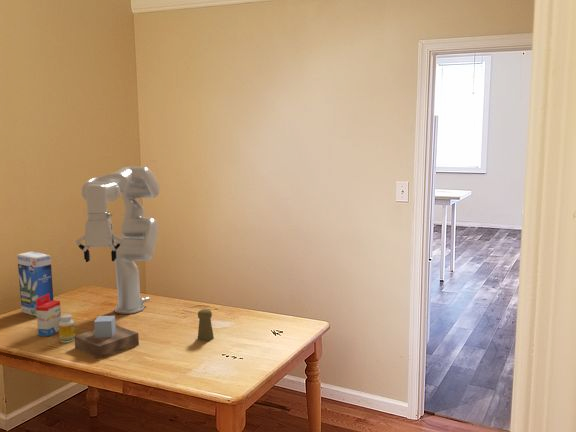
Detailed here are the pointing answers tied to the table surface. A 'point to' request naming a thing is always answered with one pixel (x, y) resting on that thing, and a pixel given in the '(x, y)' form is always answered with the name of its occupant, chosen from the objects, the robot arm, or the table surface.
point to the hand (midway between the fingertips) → (100, 260)
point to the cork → (205, 325)
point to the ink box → (47, 316)
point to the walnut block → (106, 342)
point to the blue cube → (104, 326)
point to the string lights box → (34, 279)
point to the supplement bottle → (66, 328)
